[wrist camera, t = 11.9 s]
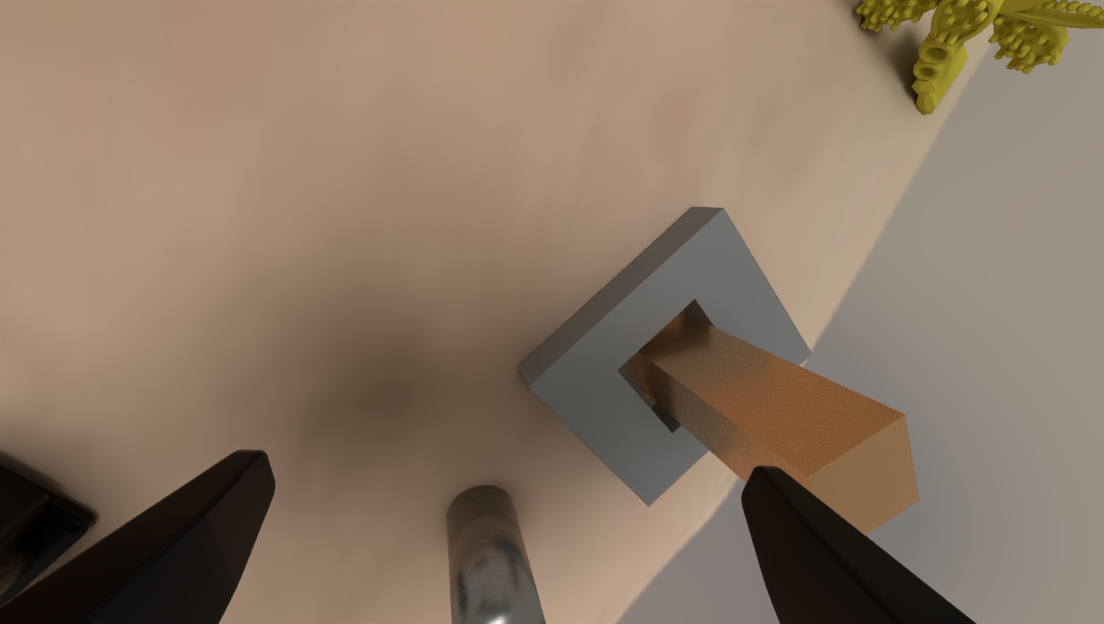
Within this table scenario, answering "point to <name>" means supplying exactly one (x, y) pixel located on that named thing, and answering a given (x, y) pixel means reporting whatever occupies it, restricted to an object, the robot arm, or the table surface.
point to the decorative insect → (961, 18)
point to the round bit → (489, 561)
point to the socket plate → (633, 320)
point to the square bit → (781, 420)
